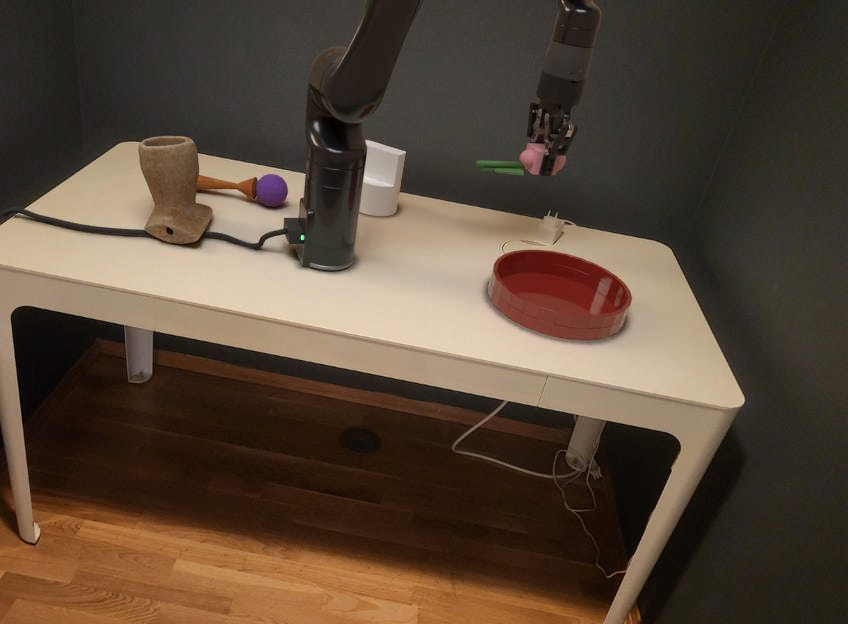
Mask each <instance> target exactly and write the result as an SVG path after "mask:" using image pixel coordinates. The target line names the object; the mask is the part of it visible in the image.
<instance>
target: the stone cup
mask: <svg viewBox="0 0 848 624" xmlns="http://www.w3.org/2000/svg"><path fill="white" fill-rule="evenodd" d="M137 149H138V150H137V151H138V158H139V167H140V170H141V173H142V175H143V178H144V180H145V182H146V185H147V187H148V190H149V193H150V195H151V198H152V201H153V204H154V205H153V206H154V207H153V210H152V212H151V214H150V215H149V217H148V219H147V221H146V223H145V225H144V226H143V230H145V231H147V232H148V233H150V234H152V235H151V236H152V237H155V238H157V239H159V240H161V241H164V242H167V243H170V244H178V245H180V244H190V243H195V242H197V241H198V240H200V238H201V237H202V236H201V235H202V234H203V232H204V231H206V229H207V227H208V225H209V223H210V222H211V219H212V216H213V212H214V211H213V208H212V206H210V205H207V204H203V203H198V202H197V201H196V199H197V189H196V188H197V182H198V177H199V175H200V163H199V154H198V149H197V145H196V144H195V142H194V140H193V139H192V138H190V137H188V136H183V135H175V136H174V135H161V136H152V137H148V138H146V139H145V138H144V139H143V140H142V141H140V143H139V145H138V147H137Z"/></svg>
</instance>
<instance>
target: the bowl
mask: <svg viewBox="0 0 848 624" xmlns="http://www.w3.org/2000/svg"><path fill="white" fill-rule="evenodd" d="M487 285H488V286H487V295H488V298H489V300H490V302H491V303H492V305H493V306H494V307H495V309H497V310H498V311H499V312H500V313H501V314H502V315H503V316H505V317H506V318H508V319H509V320H511V321H513V322H514V323H516V324H518V325H519V326H522V327H524V328H526V329H528V330H530V331H533V332H535V333H540V334H541V335H546V336H550V337H553V338H558V339H563V340H571V341H572V340H573V341H595V340H597V341H598V340H602V339H605V338H608V337H611V336H613V335H615V334H617V333H618V332H619V331H620V330H621V329H622V328H623V326H624V324H625V320H626V318H627V315H628V312H629V310H630V308H631V305H632V301H633V297H632V292H631V290H630V288H629V287H628V285H627V284H626V283H625V282H624V281H623V280H622V279H621V278H619V277H618V275H616V274H615V273H613V272H611V271H610V270H609V269H607V268H605V267H603V266H601V265H599V264H597V263H594V262H592V261H590V260H587V259H585V258H582V257H580V256H576V255H572V254H569V253H564V252H560V251H555V250H547V249H520V250H513V251H509V252H507V253H504V254H502V255H500V256H499V257H498V258H497V259H496V260H495V262H494V263H493V266H492V270H491V272H490V277H489V281H488V284H487Z"/></svg>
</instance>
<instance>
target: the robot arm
mask: <svg viewBox="0 0 848 624" xmlns="http://www.w3.org/2000/svg"><path fill="white" fill-rule="evenodd" d="M423 2H424V0H365V2H364V5H363V10H362V13H361V17H360V19H359V22H358V24H357V26H356V29H355V31H354V33H353V35H352V37H351V39H350V41H349V43H348V45H347V47H346V46H339V45H338V46H331V47H329V48H326V49H325V50H323V51H322V52H321V53H319V54H318V55H317V57H316V58H315V59H314V61H313V62H312V65H311V67H310V70H309V74H308V79H307V87H306V103H305V105H306V106H305V121H304V122H305V123H304V124H305V126H304V127H305V128H304V129H305V130H304V131H305V132H304V133H305V138H306V145H307V152H306V164H305V175H304V188H303V197H300V198H299V206H298V217H283V225H282V226H283V227H282V228H280V229H275V230H272V231H268V232H266V233H264V234H262V235H261V236H260V238H259V240H258V242H255V243H253V242H246V241H243V240H241V239H239V238H236V237H234V236H231V235H229V234H227V233H223V232H217V231H209V230H204V232H203V234H202V235H201V237H202V238H203V237H204V238H215V239H221V240H224V241H228V242H229V243H233V244H235V245H237V246H241V247H243V248H248V249H251V250H258V249H261V248H262V247H263V246H264V244H265V242H266V241H267V240H268V239H271V238H274V237H279V236H283V235H284V236H285V238H286V240H287V243H288V245H295V251H296V255H297V258H298V259H299V261H300V264H301V266H302V267H310V268H313V269H316V270H322V271H340V270H345V269H347V268H349V267H351V266H352V265H353V263H354V258H355V257H354V256H355V255H354V254H355V246H356V245H355V244H356V239H357V231H358V223H359V216H360V212H359V210H360V202H361V195H362V187H363V180H364V173H365V165H366V157H367V145H366V141H365V140H366V139H365V136H364V131H363V122H364V121H366V120H368V119H369V118H370V117H371V116H372V115H373V114H374V113H375V112H376V111H377V109H378V108H379V106H380V104H381V102H382V100H383V98H384V97H385V94H386V91H387V88H388V86H389V83H390V80H391V78H392V74H393V72H394V69H395V66H396V63H397V61H398V59H399V55H400V53H401V50H402V48H403V45H404V43H405V40H406V39H407V36H408V33H409V31H410V30H411V27H412V26H413V24H414V21H415V19H416V17H417V15H418V14H419V12H420V9H421V7H422V5H423ZM602 17H603V14H602V10H601V9H600V7H599V6H598V5H597V4H595V2H594V0H557V14H556V18H555V21H554V25H553V29H552V33H551V38H550V41H549V44H548V47H547V49H546V52H545V56H544V59H543V63H542V66H541V67H542V68H541V71H540V76H539V80H538V84H537V89H536V92H535V94H536V95H535V96H536V97H537V98H538V99H539V100H540V101H539V102H535V101H531V102H530V103H529V110H528V119H527V130H526V137H527V138H530V140H529V141H530V142H529V143H535V144H545V154H544V155H543V159H542V163H541V167H540V170H539V174H540V175H539V176H541V177H550V176H552V175H551V174H552V172H553V168H554V164H555V161H556V157H557V156H565V155H567V153H568V151H569V148H570V146H571V145H572V143H573V140H574V139H575V137H576V134H577V132H578V130H579V126H578V124H572V122H571V117H572V108H573V107H575V106H578V105H579V104H580V103H581V100H582V96H583V93H584V89H585V86H586V83H587V79H588V75H589V71H590V69H591V64H592V60H593V54H594V49H595V48H594V47H595V44H596V42H597V37H598V34H599V30H600V26H601V23H602ZM552 135H556V136H552ZM551 144H552V145H553V146H552V148H551ZM11 214H21V215H23V216H26V217H29V218H31V219H34V220H37V221H41V222H45V223H49V224H53V225H57V226H61V227H66V228H69V229H75V230H80V231H86V232H92V233H93V232H94V233H100V234H101V233H103V234H111V235H112V234H113V235H127V236H128V235H129V236H153V235H152V234H150V233H148V232H147V231H145V229H138V228H137V229H135V228H134V229H133V228H121V227H120V228H119V227H106V226H97V225H89V224H83V223H77V222H72V221H69V220H63V219H60V218H57V217H56V218H55V217H52V216H47V215H43V214H39V213H36V212H33V211H31V210H29V209H25V208H23V207H19V206H11V207H7V208H6V209H4V210H3V211H2V212H1V213H0V216H1V217H7V216H9V215H11Z"/></svg>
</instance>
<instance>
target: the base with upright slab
mask: <svg viewBox="0 0 848 624" xmlns="http://www.w3.org/2000/svg"><path fill="white" fill-rule="evenodd" d="M365 141H366V145H367V157H366V165H365V173H364V180H363V187H362V195H361V202H360V210H359V213H362V214H364V215H367V216H372V217H388V216H392V215H394V214H396V213H397V209H398V204H399V197H400V191H401V185H402V178H403V172H404V167H405V159H406V153H407V151H405V150H403V149H399V148H395V147H392V146H389V145H385V144H382V143H379V142H376V141H373V140H370V139H365Z"/></svg>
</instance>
